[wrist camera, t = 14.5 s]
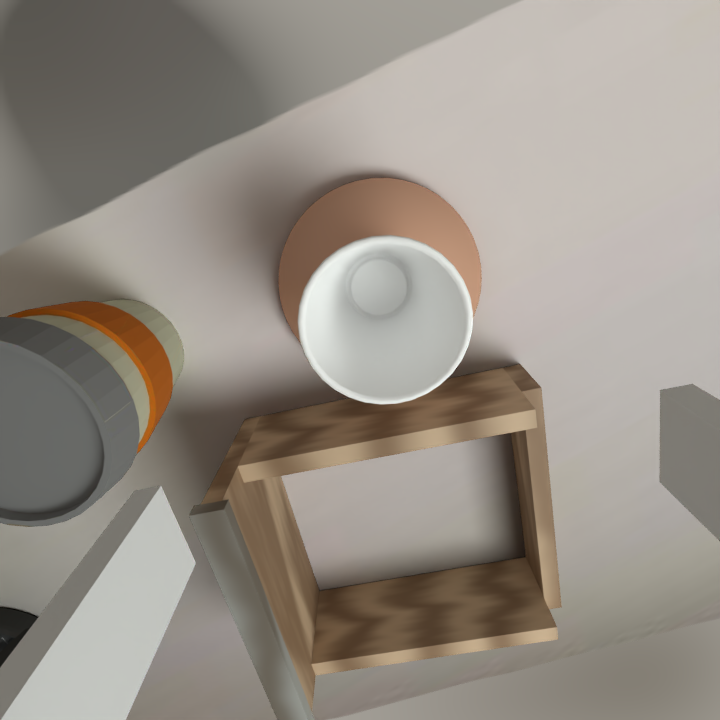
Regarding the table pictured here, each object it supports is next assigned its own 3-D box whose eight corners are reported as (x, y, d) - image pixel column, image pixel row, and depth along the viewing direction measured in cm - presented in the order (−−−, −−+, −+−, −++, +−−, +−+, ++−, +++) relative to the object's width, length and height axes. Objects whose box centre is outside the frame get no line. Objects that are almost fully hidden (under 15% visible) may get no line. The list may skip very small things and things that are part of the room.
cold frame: (305, 604, 49) (286, 740, 37) (240, 420, 41) (188, 515, 29) (541, 565, 47) (603, 696, 35) (520, 364, 39) (590, 442, 27)
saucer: (309, 390, 40) (307, 396, 39) (256, 205, 35) (252, 205, 34) (489, 354, 39) (492, 359, 38) (462, 155, 34) (466, 154, 32)
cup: (296, 248, 35) (268, 273, 25) (420, 201, 34) (445, 206, 23) (342, 361, 38) (335, 426, 28) (456, 322, 37) (493, 374, 27)
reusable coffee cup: (29, 348, 39) (-158, 437, 25) (113, 244, 36) (-47, 279, 22) (147, 439, 42) (40, 564, 28) (234, 351, 39) (162, 441, 25)
